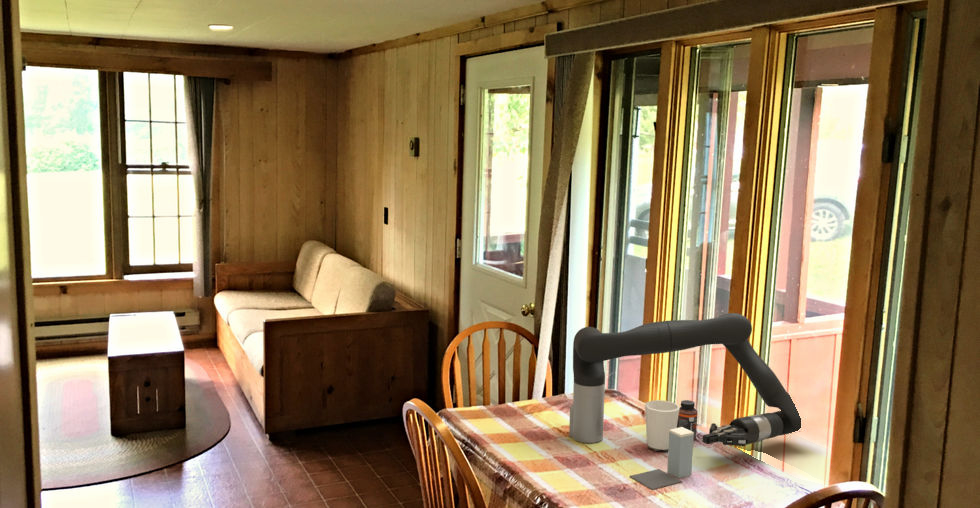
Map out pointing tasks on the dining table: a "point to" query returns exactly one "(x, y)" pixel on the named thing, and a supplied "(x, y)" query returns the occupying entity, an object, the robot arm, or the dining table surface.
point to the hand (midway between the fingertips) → (704, 439)
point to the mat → (655, 479)
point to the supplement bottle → (688, 416)
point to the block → (680, 452)
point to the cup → (660, 423)
